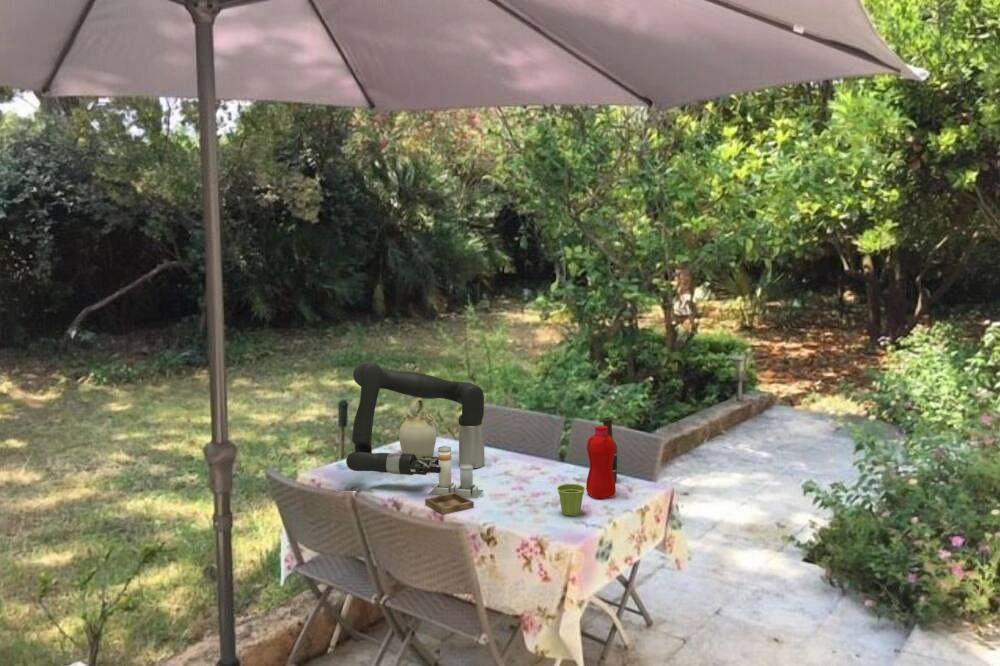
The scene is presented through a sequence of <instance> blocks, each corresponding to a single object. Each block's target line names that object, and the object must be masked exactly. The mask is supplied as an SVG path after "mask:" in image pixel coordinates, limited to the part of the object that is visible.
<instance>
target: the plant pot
mask: <svg viewBox="0 0 1000 666" xmlns="http://www.w3.org/2000/svg"><path fill="white" fill-rule="evenodd" d="M556 490H557V492H558V495H559V501H560V508H561V514H562V515H563V516H566V515H567V516H571V517H576V516H579V515H580V514H581V511H582V504H583V496H584V494H585V491H586V487H585V486H584V485H581V484H577V483H564V484H560V485H558V486H557V487H556Z"/></svg>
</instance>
